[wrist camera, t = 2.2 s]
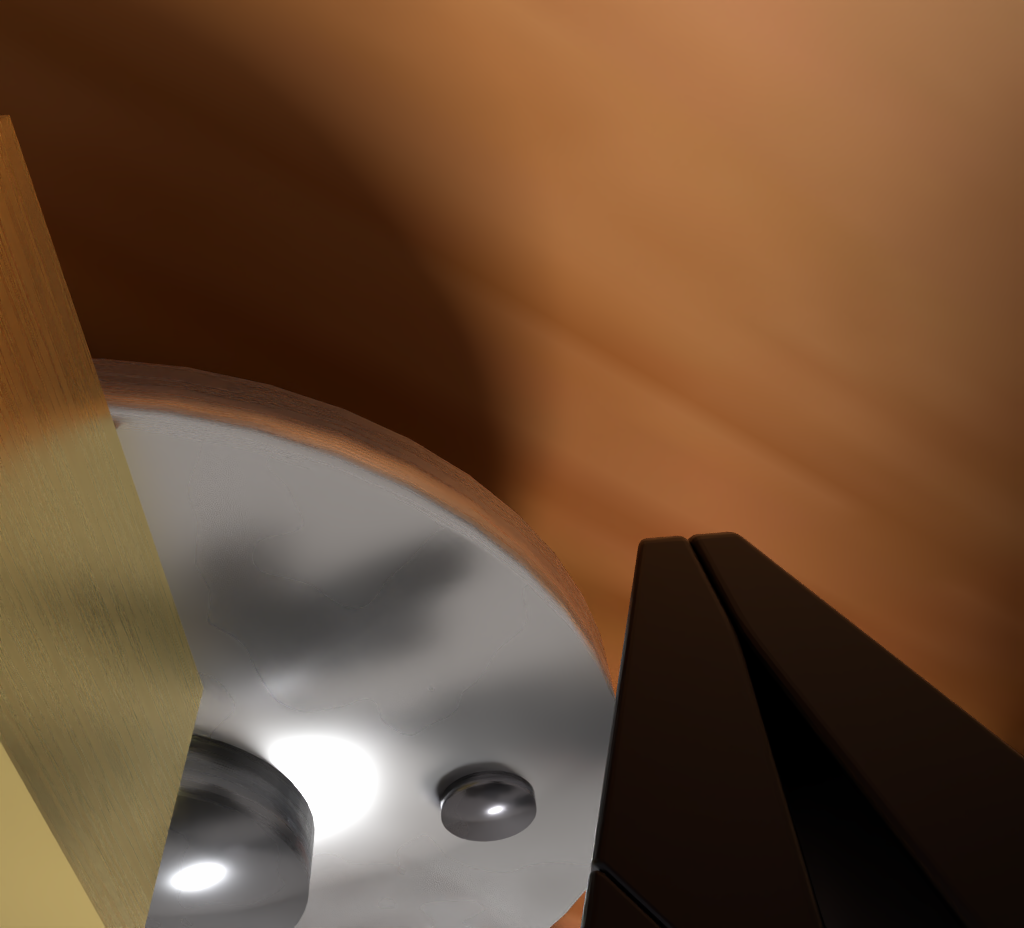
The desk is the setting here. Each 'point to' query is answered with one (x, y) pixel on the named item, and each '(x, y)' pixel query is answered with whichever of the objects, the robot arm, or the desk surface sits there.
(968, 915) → the robot arm
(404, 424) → the desk surface
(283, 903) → the flange plate
